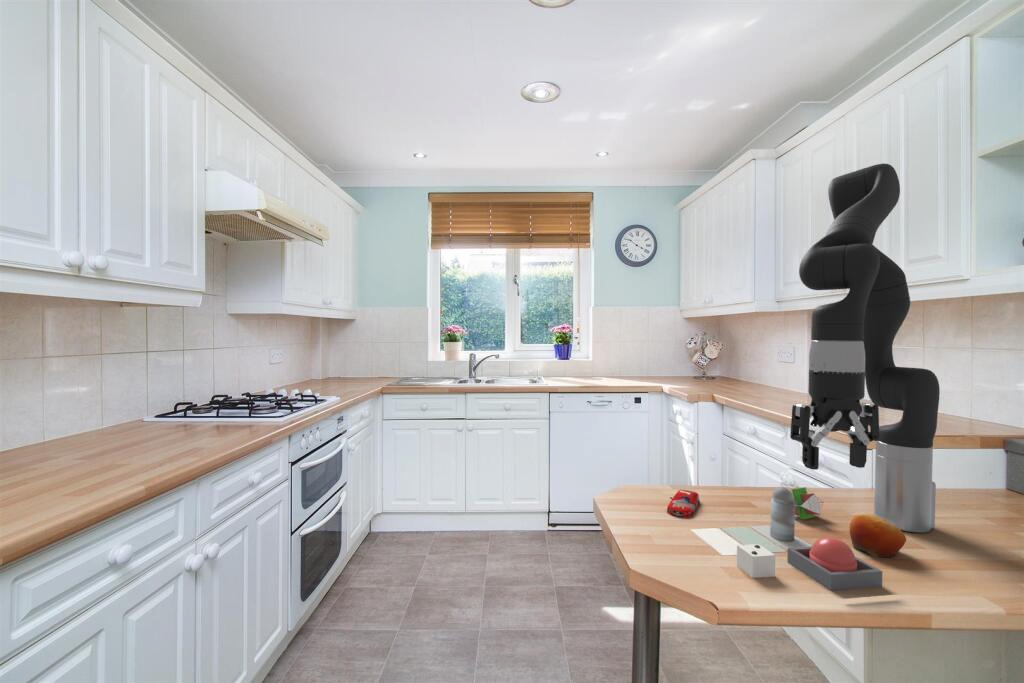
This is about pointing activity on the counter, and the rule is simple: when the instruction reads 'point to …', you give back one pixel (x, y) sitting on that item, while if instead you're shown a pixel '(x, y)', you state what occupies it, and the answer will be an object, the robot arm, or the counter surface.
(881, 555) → the fruit
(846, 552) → the dome
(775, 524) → the ridged rounded cylinder
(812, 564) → the gray square tray
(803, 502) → the geometric puzzle
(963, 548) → the counter surface
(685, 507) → the race car
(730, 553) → the game board
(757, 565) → the die
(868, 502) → the counter surface
